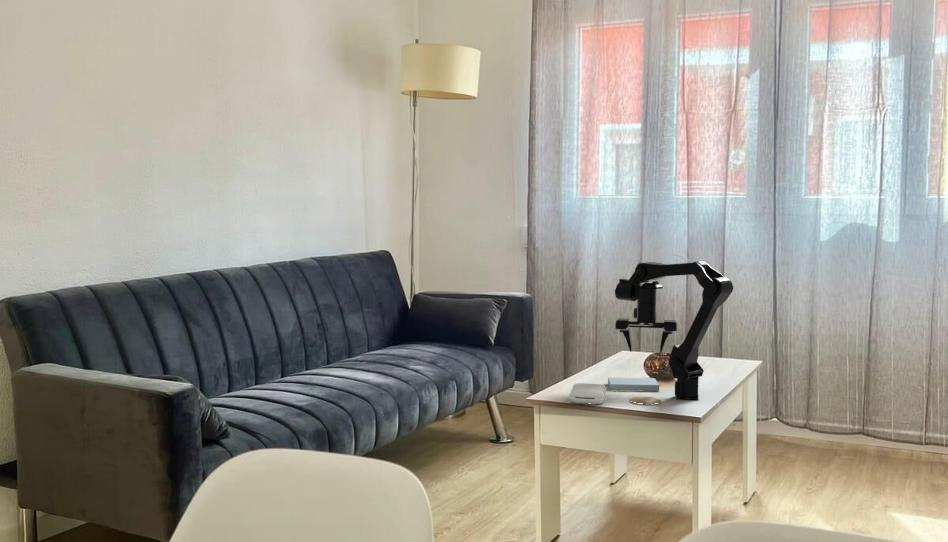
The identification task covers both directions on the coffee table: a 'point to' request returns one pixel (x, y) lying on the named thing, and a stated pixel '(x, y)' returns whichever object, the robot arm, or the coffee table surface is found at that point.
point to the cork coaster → (645, 400)
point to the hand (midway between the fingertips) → (645, 352)
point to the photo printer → (588, 393)
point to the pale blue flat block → (633, 384)
